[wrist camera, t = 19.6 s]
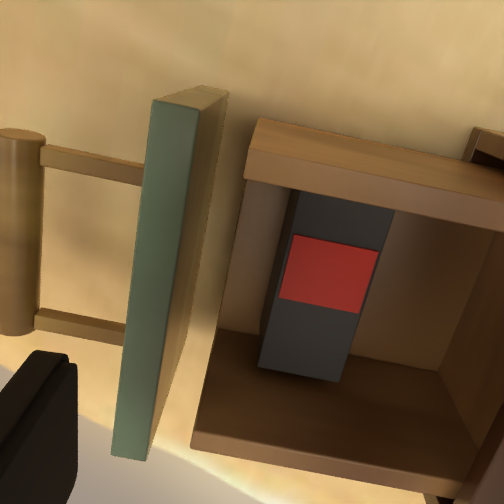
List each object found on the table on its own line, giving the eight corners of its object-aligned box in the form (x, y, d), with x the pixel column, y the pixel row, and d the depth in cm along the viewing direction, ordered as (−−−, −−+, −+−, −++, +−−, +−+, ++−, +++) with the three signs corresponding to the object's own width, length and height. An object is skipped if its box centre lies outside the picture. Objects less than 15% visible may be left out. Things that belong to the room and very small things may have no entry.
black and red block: (329, 335, 21) (339, 385, 18) (259, 321, 21) (256, 369, 18) (376, 185, 19) (396, 210, 15) (295, 168, 19) (299, 190, 15)
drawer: (51, 309, 23) (-54, 425, 16) (64, 55, 19) (-72, 51, 11) (435, 385, 23) (506, 531, 16) (532, 156, 19) (687, 212, 12)
